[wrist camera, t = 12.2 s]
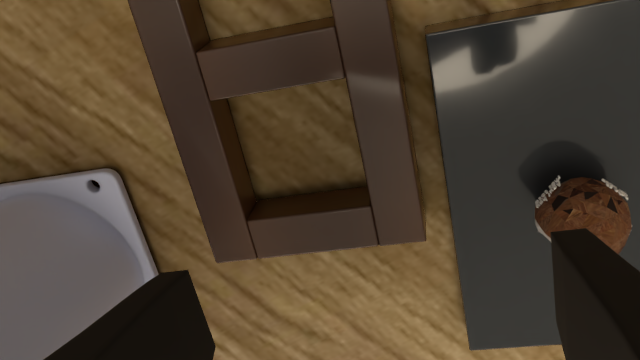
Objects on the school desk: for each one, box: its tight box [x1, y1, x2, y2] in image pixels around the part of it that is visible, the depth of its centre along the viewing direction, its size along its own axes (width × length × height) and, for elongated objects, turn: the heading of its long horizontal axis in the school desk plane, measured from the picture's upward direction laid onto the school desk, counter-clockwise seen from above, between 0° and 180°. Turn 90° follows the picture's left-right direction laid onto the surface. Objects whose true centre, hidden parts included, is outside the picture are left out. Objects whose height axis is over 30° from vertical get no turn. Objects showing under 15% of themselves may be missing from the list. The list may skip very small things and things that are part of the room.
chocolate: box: [535, 175, 632, 254], centre depth 17 cm, size 3×2×4 cm
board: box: [425, 0, 640, 350], centre depth 20 cm, size 8×12×1 cm, turn 12°
